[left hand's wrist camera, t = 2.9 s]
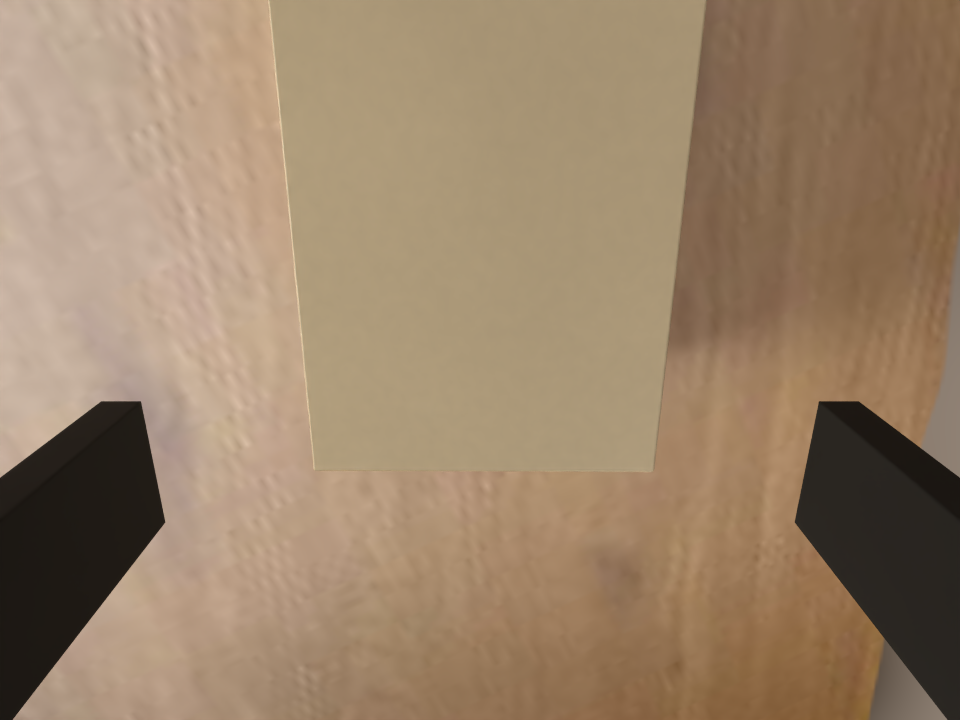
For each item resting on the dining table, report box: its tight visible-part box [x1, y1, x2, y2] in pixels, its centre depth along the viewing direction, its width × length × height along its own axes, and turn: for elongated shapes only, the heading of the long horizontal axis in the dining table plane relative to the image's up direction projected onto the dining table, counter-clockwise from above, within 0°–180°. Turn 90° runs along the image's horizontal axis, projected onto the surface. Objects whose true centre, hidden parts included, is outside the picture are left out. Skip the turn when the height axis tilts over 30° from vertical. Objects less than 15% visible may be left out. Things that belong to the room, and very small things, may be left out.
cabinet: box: [268, 0, 707, 472], centre depth 21 cm, size 21×11×9 cm, turn 0°
